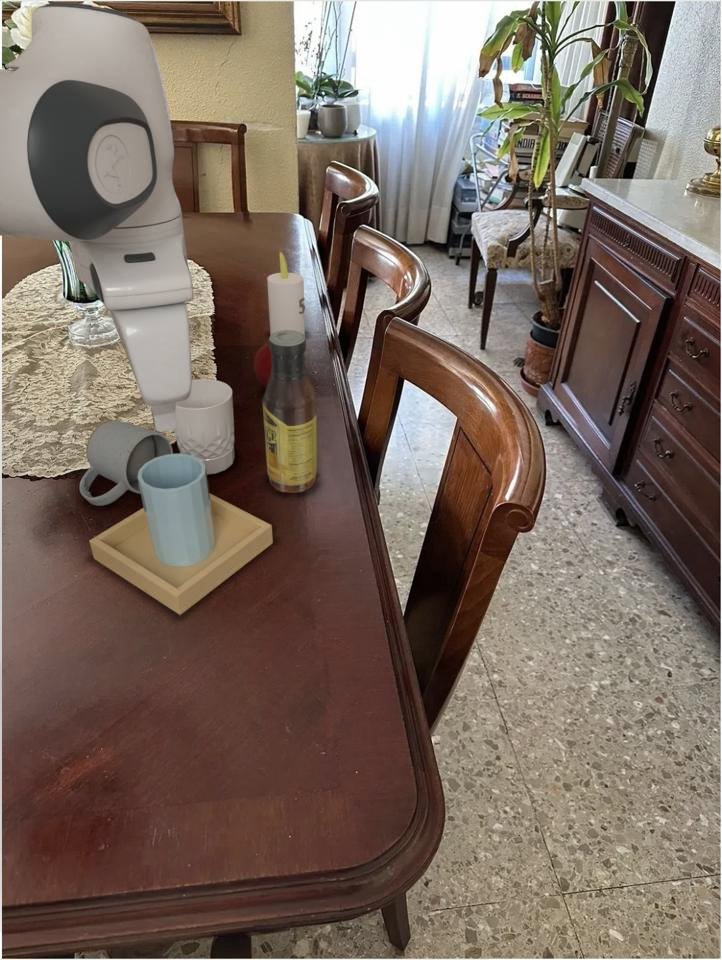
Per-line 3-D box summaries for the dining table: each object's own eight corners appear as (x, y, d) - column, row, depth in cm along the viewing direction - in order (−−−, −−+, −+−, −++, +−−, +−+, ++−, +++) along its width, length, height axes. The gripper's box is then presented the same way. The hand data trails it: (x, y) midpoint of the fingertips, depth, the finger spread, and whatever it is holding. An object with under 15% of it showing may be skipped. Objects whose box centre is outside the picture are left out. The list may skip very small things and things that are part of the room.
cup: (182, 575, 69) (168, 499, 63) (140, 550, 72) (123, 474, 66) (228, 542, 73) (219, 468, 67) (187, 519, 76) (174, 446, 70)
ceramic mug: (133, 455, 88) (121, 404, 83) (178, 474, 84) (169, 423, 80) (66, 496, 80) (50, 443, 76) (113, 519, 77) (98, 465, 72)
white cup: (233, 478, 84) (226, 409, 78) (171, 477, 84) (159, 408, 78) (243, 445, 90) (237, 379, 85) (185, 444, 90) (175, 378, 85)
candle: (294, 344, 118) (291, 260, 109) (263, 337, 120) (258, 254, 112) (312, 332, 123) (310, 250, 114) (281, 325, 125) (278, 244, 116)
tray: (180, 615, 65) (176, 596, 63) (93, 558, 71) (88, 540, 70) (273, 543, 74) (271, 525, 73) (189, 498, 80) (186, 481, 79)
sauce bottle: (267, 469, 86) (257, 323, 74) (316, 467, 87) (313, 322, 75) (268, 499, 81) (257, 348, 69) (319, 496, 81) (317, 346, 70)
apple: (255, 402, 100) (251, 354, 96) (255, 378, 107) (252, 331, 102) (305, 400, 101) (304, 352, 97) (302, 376, 108) (301, 330, 103)
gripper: (76, 224, 60) (105, 364, 68) (105, 296, 45) (138, 466, 53) (147, 218, 62) (168, 355, 70) (197, 286, 47) (216, 450, 55)
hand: (155, 403), depth 61 cm, fingers open, 8 cm apart
